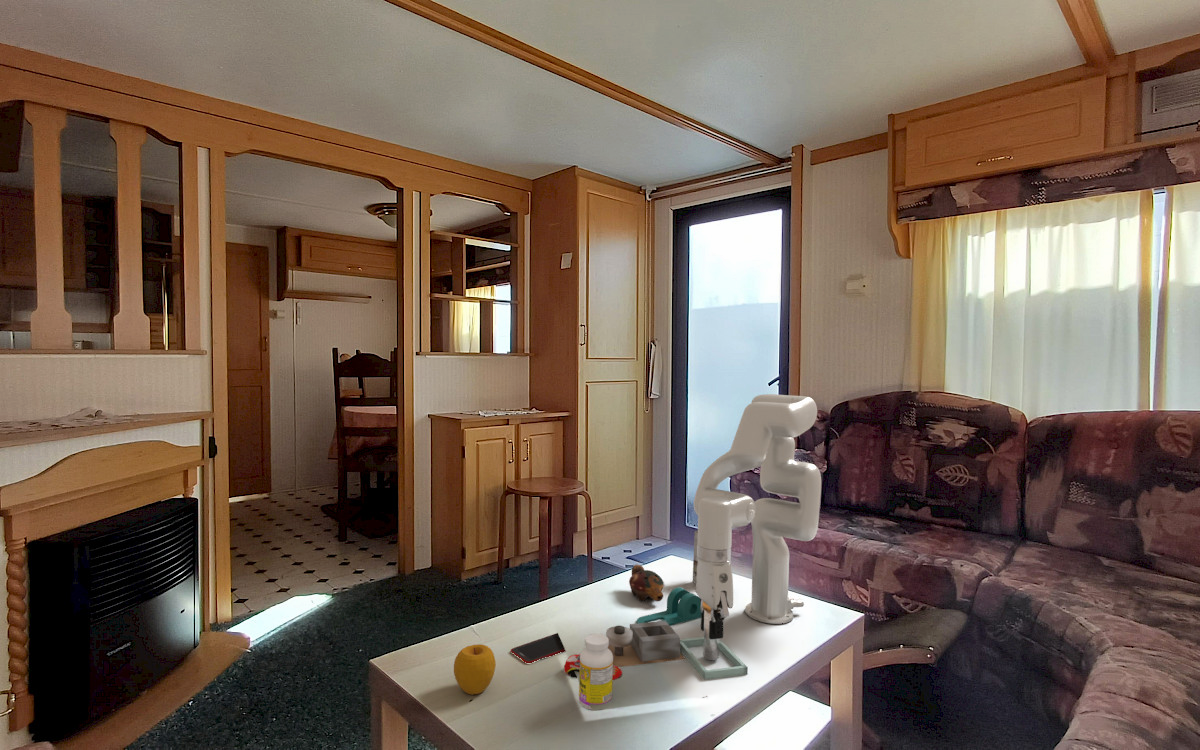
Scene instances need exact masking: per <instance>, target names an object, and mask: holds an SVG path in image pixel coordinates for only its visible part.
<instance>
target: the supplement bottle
mask: <svg viewBox="0 0 1200 750" xmlns="http://www.w3.org/2000/svg"><path fill="white" fill-rule="evenodd" d="M584 646H585V647H584V649H583V650H582V651H581V653H580V672H579V678H578V679H579V682H578V684H579V685H578V702H579V703H580V705H581V706H582V707H583V708H585V709H587V710H590V711H592V710H593V709H592V708H591V705H602V704H606V703H608V702H610V701H611V700H612V698H613V681H614V680H613V654H612V652H611V651H610V650H609V649H608V646H609V639H608V637H607V636H606V634H605V635H604V634H602V633H592V634H589V635H587V636H585V639H584ZM601 710H603V708H602V709H599V711H601Z"/></svg>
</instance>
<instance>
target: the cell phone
mask: <svg viewBox="0 0 1200 750" xmlns="http://www.w3.org/2000/svg"><path fill="white" fill-rule="evenodd" d="M564 651H565V652H566V651H567V650H566V649H565V647H564V643H563V642H562V639H561V637H560V635H559V633H558V632H555V633H553V634H549V635H547V636H545V637H542V638H539V639H536V640H534V641H530V642H527V643H523V644H522V645H519V646H516V647H513V648H511V649H510V653H511V652H512V653H514V654H515V655H516V656H518V657H519V658H521V659H522V660H523V661H524V662H526V663H532V662H534V661H537V660H539V659H542V658H545V657H549V656H551V657H554V656H556V655H555V654H557V655H559V654H558V653H560V652H562V653H565V652H564ZM560 654H561V653H560ZM553 655H554V656H553ZM549 658H550V657H549ZM545 659H546V658H545ZM542 660H543V659H542ZM524 662H523V663H524ZM537 662H538V661H537ZM532 664H533V663H532Z"/></svg>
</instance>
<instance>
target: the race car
mask: <svg viewBox="0 0 1200 750" xmlns="http://www.w3.org/2000/svg"><path fill="white" fill-rule="evenodd" d="M580 654H581V653H580ZM580 654H579V653H578V654H572V655H570V656H569V657H567V659H566V660H565V664H564V666H563V671H564V673H565V674H566V675H568V676H570V677H571V678H574V679H578V676H577V673H580ZM576 672H577V673H576ZM622 677H623V671H622V668H620V667H616V666H614V665H613V680H612V681H615V680H618V679H620V678H622Z"/></svg>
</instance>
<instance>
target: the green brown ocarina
mask: <svg viewBox="0 0 1200 750" xmlns="http://www.w3.org/2000/svg"><path fill="white" fill-rule="evenodd" d="M628 582H629V583H628V584H629V586H630V591H631V593H632V595H633V596H635V597H637V599H638V600H639V601H640V602H644V601H645V600H646V599H647V598H648V597H649V598H650V599H652V600H654V601H655V602H661V601H662V600H663V598H664V593H663V592H662V591H663V590H664V587H665V583H664V580H663V578H662V577H661V576H660V575H659V574H657V573H656V572H654V571H653V570H648V569H645V567H643V566H642V565H640V564H634V565H633V566H632V568H631V576H630V577H629V580H628Z"/></svg>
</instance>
